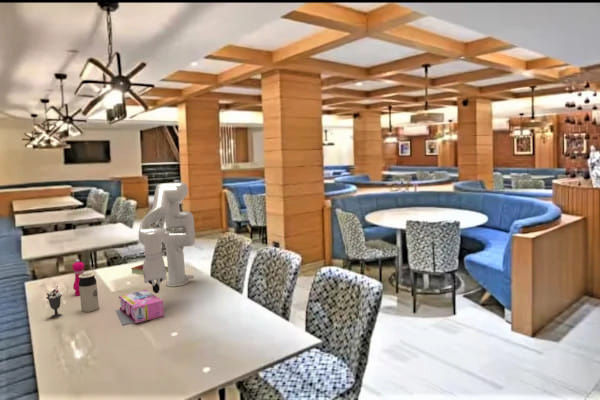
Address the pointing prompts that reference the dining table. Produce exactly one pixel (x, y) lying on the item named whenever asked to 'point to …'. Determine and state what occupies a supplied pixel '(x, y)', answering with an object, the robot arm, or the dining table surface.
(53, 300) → the sundae
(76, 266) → the pepper mill
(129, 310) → the gum box
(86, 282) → the travel mug
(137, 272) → the hardcover book
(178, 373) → the dining table surface
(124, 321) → the rubber mat
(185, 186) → the robot arm
